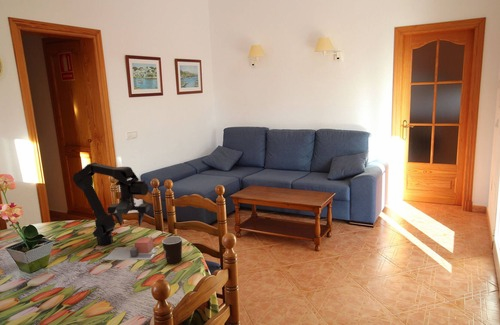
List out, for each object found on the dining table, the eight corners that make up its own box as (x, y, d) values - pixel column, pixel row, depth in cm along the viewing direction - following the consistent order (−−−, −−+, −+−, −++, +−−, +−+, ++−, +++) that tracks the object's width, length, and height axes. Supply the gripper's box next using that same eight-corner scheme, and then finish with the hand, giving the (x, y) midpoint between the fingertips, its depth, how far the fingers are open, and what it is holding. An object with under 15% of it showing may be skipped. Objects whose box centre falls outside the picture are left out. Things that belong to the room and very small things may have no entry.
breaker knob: (130, 256, 170) (129, 250, 170) (133, 253, 173) (132, 247, 173) (136, 256, 170) (135, 250, 170) (138, 253, 173) (137, 247, 173)
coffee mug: (181, 265, 163) (179, 243, 161) (162, 266, 163) (159, 244, 161) (186, 253, 174) (185, 233, 172) (168, 254, 175) (166, 233, 173)
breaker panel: (104, 262, 170) (103, 258, 170) (116, 249, 183) (116, 246, 182) (151, 261, 168) (151, 258, 167) (160, 249, 180) (160, 245, 180)
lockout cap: (135, 253, 175) (134, 242, 174) (140, 247, 181) (139, 237, 180) (148, 252, 174) (147, 242, 173) (153, 247, 180) (152, 237, 179)
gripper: (99, 199, 170) (104, 232, 173) (139, 199, 168) (143, 232, 172) (110, 192, 181) (114, 223, 184) (148, 191, 179) (151, 223, 182)
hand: (130, 225), depth 180 cm, fingers open, 9 cm apart
